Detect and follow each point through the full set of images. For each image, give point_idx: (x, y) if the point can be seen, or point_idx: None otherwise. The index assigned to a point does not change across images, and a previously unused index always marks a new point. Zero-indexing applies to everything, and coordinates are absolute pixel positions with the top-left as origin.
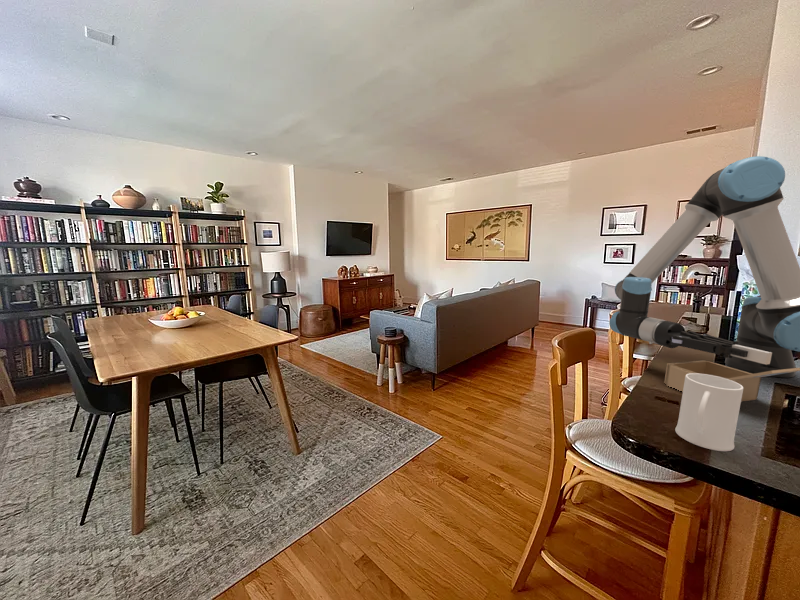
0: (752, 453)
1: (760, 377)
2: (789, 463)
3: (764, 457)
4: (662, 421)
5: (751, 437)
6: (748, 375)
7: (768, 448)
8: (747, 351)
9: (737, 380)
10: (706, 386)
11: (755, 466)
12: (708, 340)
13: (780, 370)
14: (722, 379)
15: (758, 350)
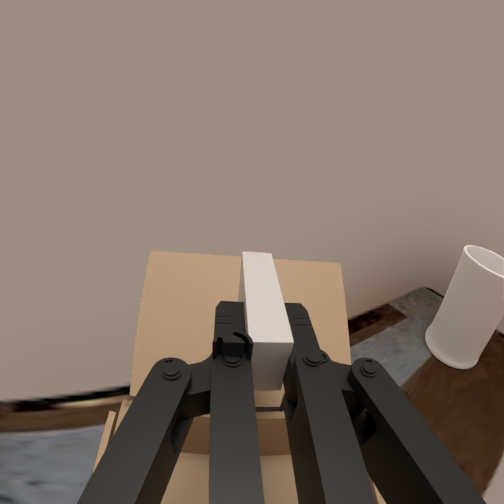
0: (413, 320)
1: (128, 401)
2: (386, 305)
3: (405, 314)
4: (484, 382)
5: (383, 343)
6: (345, 321)
7: (384, 324)
8: (284, 303)
9: (265, 413)
10: (502, 259)
11: (427, 307)
12: (347, 466)
13: (302, 262)
14: (477, 265)
15: (266, 270)
